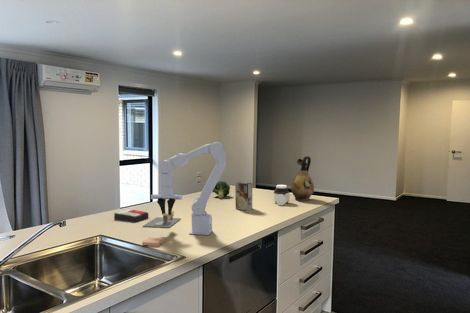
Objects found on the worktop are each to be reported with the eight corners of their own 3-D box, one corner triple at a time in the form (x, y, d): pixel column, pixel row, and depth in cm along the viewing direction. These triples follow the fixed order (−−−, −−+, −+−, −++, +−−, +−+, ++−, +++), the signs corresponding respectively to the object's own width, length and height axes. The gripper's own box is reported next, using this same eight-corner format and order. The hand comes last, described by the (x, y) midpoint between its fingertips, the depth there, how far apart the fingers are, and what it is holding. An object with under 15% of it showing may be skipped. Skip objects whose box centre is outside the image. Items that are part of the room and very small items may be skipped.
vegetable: (208, 195, 257) (210, 183, 270) (220, 206, 262) (221, 194, 275) (220, 186, 253) (222, 174, 266) (233, 197, 257) (234, 185, 270)
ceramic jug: (303, 202, 241) (304, 157, 238) (286, 199, 253) (286, 156, 250) (320, 199, 251) (320, 156, 249) (302, 196, 263) (303, 155, 261)
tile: (164, 238, 160) (157, 242, 153) (164, 242, 160) (157, 247, 153) (148, 237, 161) (142, 242, 154) (149, 241, 161) (142, 246, 154)
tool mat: (180, 219, 199) (180, 218, 199) (169, 228, 181) (169, 227, 181) (156, 218, 202) (156, 217, 202) (142, 226, 184) (142, 225, 184)
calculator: (135, 216, 193) (113, 212, 200) (135, 224, 194) (113, 219, 200) (148, 211, 203) (127, 208, 209) (148, 219, 203) (127, 215, 210)
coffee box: (253, 208, 225) (252, 182, 224) (248, 210, 219) (248, 184, 218) (239, 207, 229) (239, 181, 228) (235, 209, 223) (234, 183, 222)
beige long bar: (165, 219, 179) (165, 210, 179) (177, 219, 178) (177, 211, 178) (154, 225, 165) (154, 216, 165) (167, 226, 164) (166, 216, 164)
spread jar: (284, 201, 247) (284, 184, 246) (294, 204, 236) (294, 186, 235) (269, 202, 241) (269, 185, 240) (278, 206, 231) (278, 187, 230)
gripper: (183, 184, 174) (184, 212, 175) (154, 184, 177) (155, 211, 178) (178, 187, 167) (179, 216, 168) (148, 186, 170) (149, 215, 171)
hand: (166, 214), depth 172 cm, fingers closed on beige long bar, 2 cm apart
